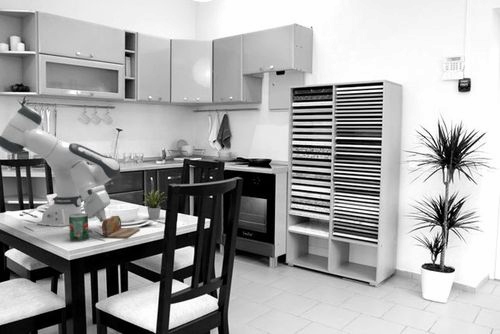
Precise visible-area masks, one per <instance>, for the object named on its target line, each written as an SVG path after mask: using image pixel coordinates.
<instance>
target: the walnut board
mask: <svg viewBox="0 0 500 334" xmlns="http://www.w3.org/2000/svg"><path fill="white" fill-rule="evenodd" d="M140 229H141V228H135V227H134V228H130V227H121V229H119V230H118V231H116V232H114V233H112V234H110V235H109V236H108V237H107V239H123V240H124V239H125V240H126V239H129V238H131V236H133V235H136V234H137V233H138V232H140Z"/></svg>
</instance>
